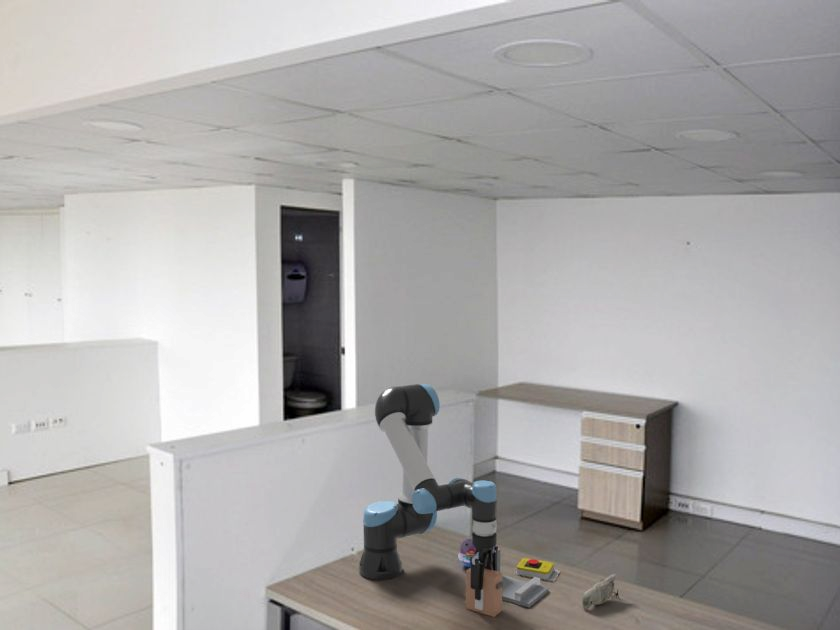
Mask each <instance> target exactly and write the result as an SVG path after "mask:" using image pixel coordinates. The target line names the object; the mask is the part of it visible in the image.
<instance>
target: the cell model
mask: <svg viewBox="0 0 840 630" xmlns="http://www.w3.org/2000/svg"><path fill="white" fill-rule="evenodd" d="M458 549H459V551H458V552H459V553H458V554H457V557H458V560H459V562H460V563H461V564H462V566H465V567H466V568H468V569H469V568H471V564H470V558H471V557H472V558H474V556H475V551H476V548H475V546H474V545H473V544H472V537H468V538H466V539H464V540H462V541H461V543H460V545H459V548H458Z"/></svg>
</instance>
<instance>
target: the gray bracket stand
mask: <svg viewBox="0 0 840 630" xmlns="http://www.w3.org/2000/svg"><path fill="white" fill-rule="evenodd" d="M481 564H483V563H481ZM497 572H501V548H498V552H497ZM502 582H503V586H502V601H505V602H508V603H511V604H512V603H513V604H514V605H519V606H522V607H526V608H531V606H533V605H534V604H536V603H537V602H538V601H539V600H540V599H541V598H543V596H545V595H546V594H548V592H549V587H547V586H544V585H540V586H539V587H538V588H536V589H535V590H534V591H533V592H531V593H530V594H529V595H528V596H526V597H525V598H524V599H523V600H522V601H517V600H515V592H516V591H517V590H518V589H520V588H521V587H522V586H524V585H525V584H526V583H527V582H528V581H526V580H521V579H518V578H514V577H512V576H507V575H504V574H502Z"/></svg>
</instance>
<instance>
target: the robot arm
mask: <svg viewBox="0 0 840 630" xmlns="http://www.w3.org/2000/svg"><path fill="white" fill-rule="evenodd" d="M440 405H441V404H440V398H439V396H438V394H437V392H436V389H435V388H434V387H433V386H432V385H430V384H428V383H416V384H409V385H401V386H391V387H389V388H386V389H384V390H383V391H382V392H381V393H380V394H379V396H378V397H377V399H376V402H375V408H374V416H375V421H376V423H377V426H378V428H379V430H380V431H382V432H384V433H385V435H386V437H387V440H388V441H389V443H390V445H391V447H392V449H393V450H394V452H395V454H396V457H397V459H398V461H399V463H400V464H401V467H402V492H400V494H398V497H397V499H398V500H397V503H396V502H394V501H392V500H379V501H376V502H372V503H370V504H369V505H367V506H366V508H365V509H364V512H363V520H362V522H363V551H362V554H361V557H360V561H359V564H358V573H359V574H360V576H362V577H364V578H367V579H370V580H376V581H377V580H389V579H393V578H396V577H398V576H399V575H401V574H402V572H403V563H402V560H401V556H400V554H399V551H398V540H399V539H402V538H407V537H411V536H415V535H416V536H417V535H423V534H425V533H427V532H430V531H432V530H433V529H434V527H435V525H436V523H437V520H438V512H440V511H444V510H451V509H454V508H459V507H466V508H468V509H471V511H472V512H471V513H472V516H471V519H472V520H471V522H472V523H471V531H472V532H471V535H472V536H471V538H472V544H473V545H474V546H475V548H476V551H475V556H474V558H472V557H471V558H470V564H471V586H470V587H471V589H475V608H476V609H479V610H482V611H483V610H484V589H482V586H483V575H484V570H485V569H489V570H494V571H497V552H498V549H499V546H498V545H497V542H498V541H497V533H496V532H497V527H498V524H497V516H498V515H497V508H498V494H497V485H496V484H495V482H493V481H492V480H491V481H490V480H489V481H488V480H481V479H480V480H476V481H473V482H471V481H470V480H468V479H465V478H461V477H456V478H453V479H452V480H451V481H449V482H448V483H447V484H441V485H439V483H438V481H437V480H436V478H435V477H434V474H433V472H432V471H431V469H430V467H429V465H428V444H429V443H428V442H429V441H428V440H429V427H430V426H431V425H432V424H433V417H435V416H437V414H438V413H439V412H440V408H441V407H440ZM481 563H483V564H481Z"/></svg>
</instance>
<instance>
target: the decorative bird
mask: <svg viewBox="0 0 840 630" xmlns="http://www.w3.org/2000/svg"><path fill="white" fill-rule="evenodd" d="M617 578H618V576H617V574H616V573H612V574H610V575H609V576H607V577H606V578H604V579H600V580H598V581H597V582H596V583H595V584H593V586H592V587H591V588H588V589H587V590H586V591H585V592H584V593H583V596H582V600H581V601H582V602H581V604H582V608H583V610H584V612H587V611H588V610H589V608H590V607H591V606H597V605H603V604H605V603H606V602H607V601H608V600H609V599H610V598H611V597H612V596H613V597H615V599H617V598H618V599H620V597H619V589H617V591H616V592H615V582H614V581H615V580H616V579H617ZM613 594H614V595H613Z"/></svg>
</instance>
